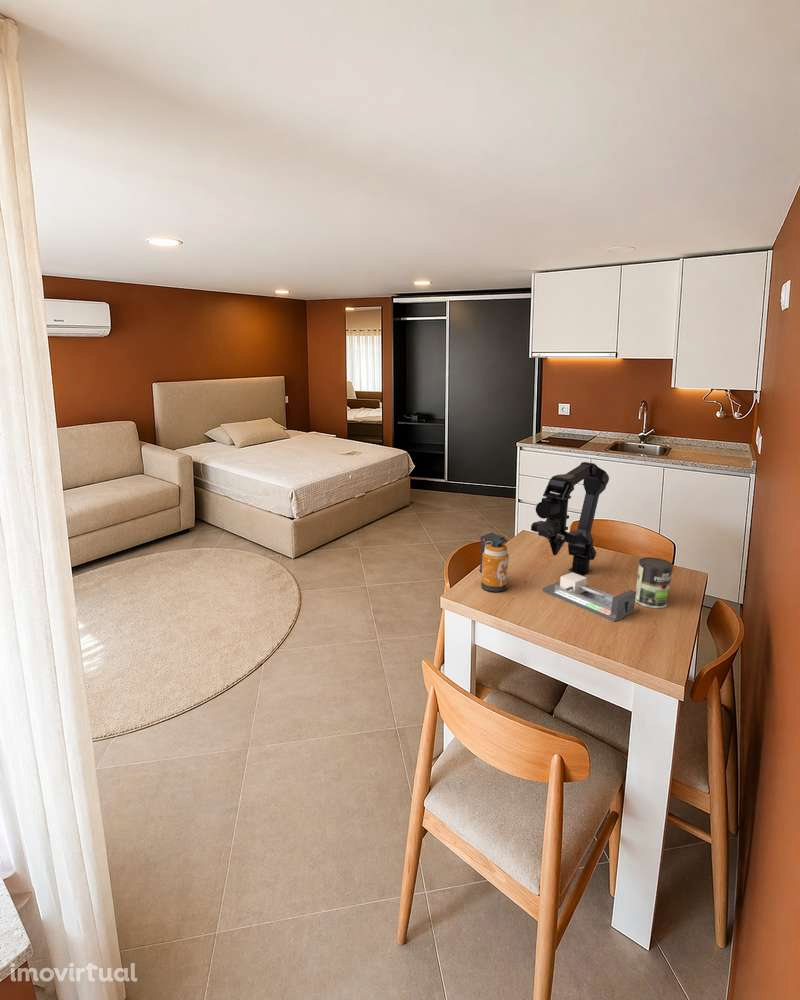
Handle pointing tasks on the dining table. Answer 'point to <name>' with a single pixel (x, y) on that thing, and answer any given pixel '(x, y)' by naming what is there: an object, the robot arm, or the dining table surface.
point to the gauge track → (597, 601)
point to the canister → (494, 562)
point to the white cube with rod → (577, 584)
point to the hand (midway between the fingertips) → (554, 554)
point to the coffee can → (653, 582)
